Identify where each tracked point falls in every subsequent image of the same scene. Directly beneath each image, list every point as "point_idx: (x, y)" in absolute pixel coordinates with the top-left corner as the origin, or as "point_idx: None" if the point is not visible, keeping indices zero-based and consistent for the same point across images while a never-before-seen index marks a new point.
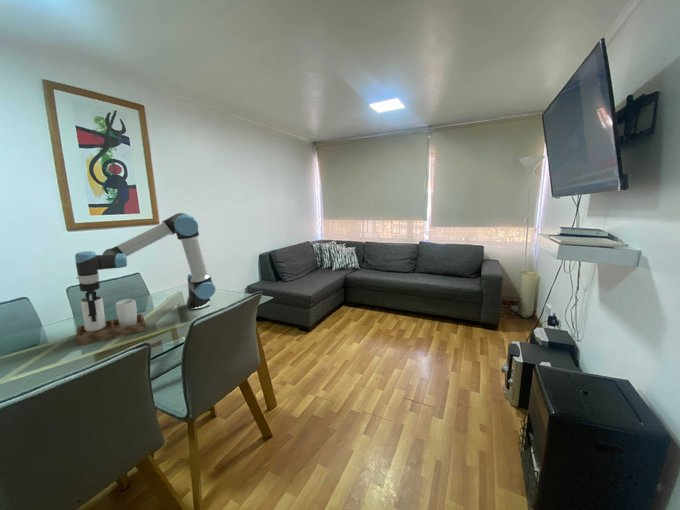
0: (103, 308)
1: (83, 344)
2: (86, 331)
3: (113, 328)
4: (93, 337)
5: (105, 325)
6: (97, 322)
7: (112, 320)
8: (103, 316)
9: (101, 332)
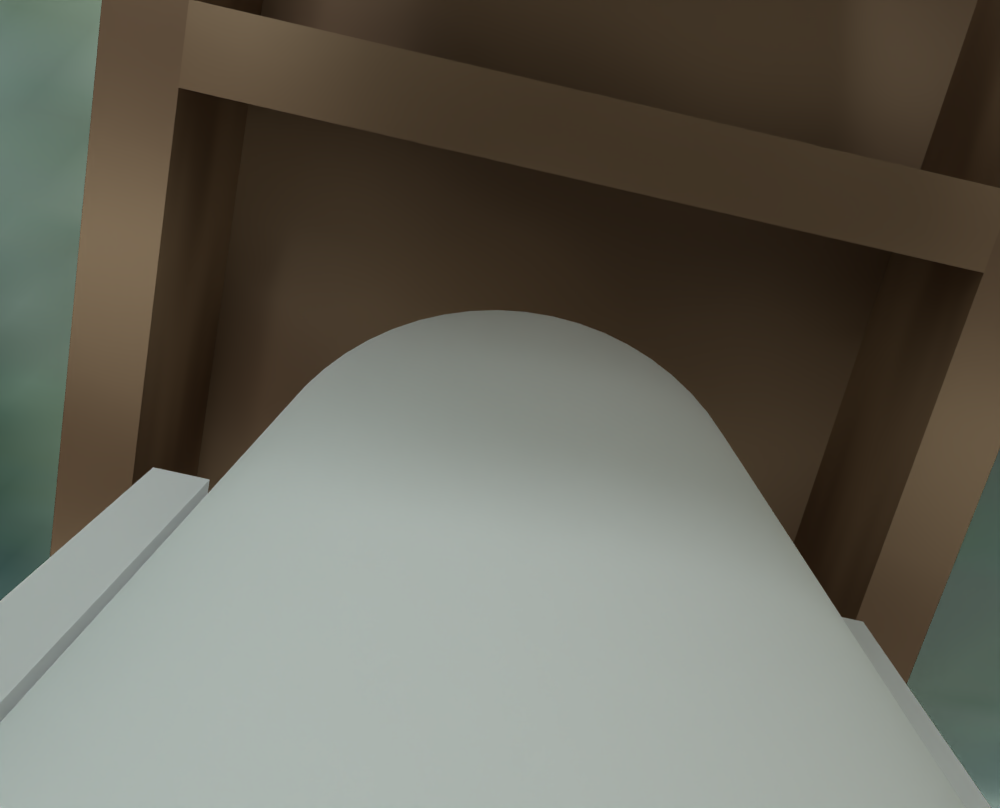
0: (757, 759)
1: None
2: None
3: (982, 203)
4: None
5: (632, 351)
6: (924, 732)
7: (214, 37)
8: (773, 536)
9: (965, 520)
